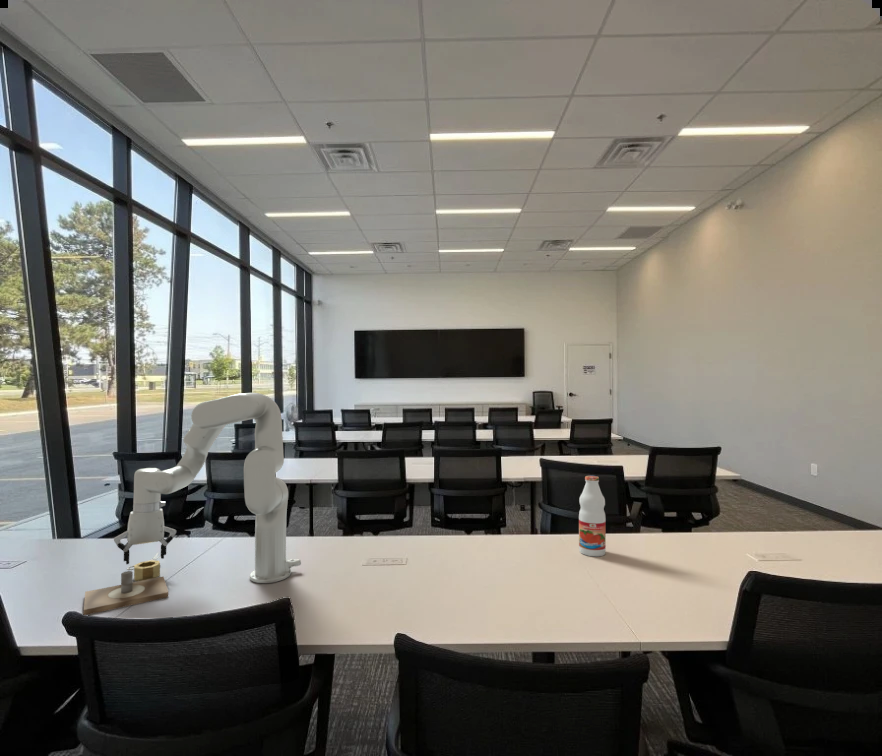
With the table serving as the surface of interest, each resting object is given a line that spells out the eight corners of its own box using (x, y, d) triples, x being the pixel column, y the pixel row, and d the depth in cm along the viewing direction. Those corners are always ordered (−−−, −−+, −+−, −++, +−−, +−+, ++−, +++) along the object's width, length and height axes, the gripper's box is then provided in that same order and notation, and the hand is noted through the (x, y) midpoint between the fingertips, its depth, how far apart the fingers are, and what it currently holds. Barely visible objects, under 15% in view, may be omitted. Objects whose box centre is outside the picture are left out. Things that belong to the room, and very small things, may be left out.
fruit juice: (606, 550, 184) (605, 475, 184) (605, 558, 175) (605, 479, 175) (579, 547, 187) (579, 473, 187) (577, 555, 178) (577, 478, 178)
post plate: (163, 581, 155) (163, 558, 155) (168, 597, 143) (168, 573, 143) (85, 596, 143) (85, 572, 143) (83, 615, 132) (83, 589, 132)
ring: (158, 571, 163) (158, 558, 163) (160, 577, 157) (160, 565, 157) (133, 575, 159) (133, 563, 159) (134, 582, 153) (134, 570, 153)
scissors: (123, 571, 162) (150, 550, 182) (122, 573, 162) (150, 552, 182) (157, 569, 164) (180, 549, 184) (157, 571, 164) (180, 551, 184)
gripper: (175, 501, 166) (174, 552, 166) (114, 507, 156) (112, 561, 156) (178, 506, 160) (176, 558, 160) (115, 513, 150) (113, 569, 150)
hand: (145, 560), depth 158 cm, fingers open, 9 cm apart
